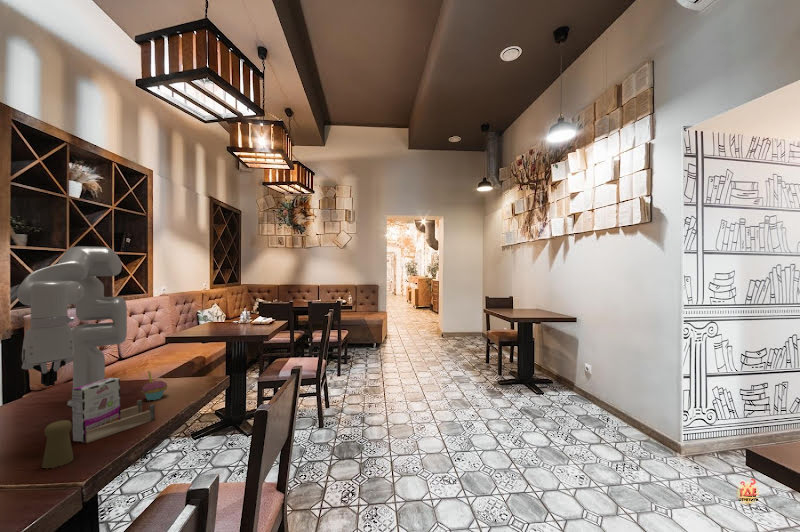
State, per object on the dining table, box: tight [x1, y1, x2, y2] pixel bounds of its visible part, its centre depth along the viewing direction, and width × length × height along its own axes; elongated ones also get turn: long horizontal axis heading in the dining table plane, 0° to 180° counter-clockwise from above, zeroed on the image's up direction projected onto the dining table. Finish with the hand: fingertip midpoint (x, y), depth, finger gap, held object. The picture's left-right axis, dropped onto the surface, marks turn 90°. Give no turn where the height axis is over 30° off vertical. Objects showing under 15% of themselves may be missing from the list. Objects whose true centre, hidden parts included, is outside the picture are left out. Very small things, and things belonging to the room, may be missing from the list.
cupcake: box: [141, 371, 168, 402], centre depth 136 cm, size 9×8×12 cm
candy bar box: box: [71, 377, 121, 443], centre depth 106 cm, size 11×5×16 cm, turn 168°
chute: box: [85, 399, 156, 444], centre depth 110 cm, size 10×18×5 cm, turn 150°
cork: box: [41, 419, 74, 470], centre depth 90 cm, size 6×6×11 cm
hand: (49, 385), depth 97 cm, fingers closed
